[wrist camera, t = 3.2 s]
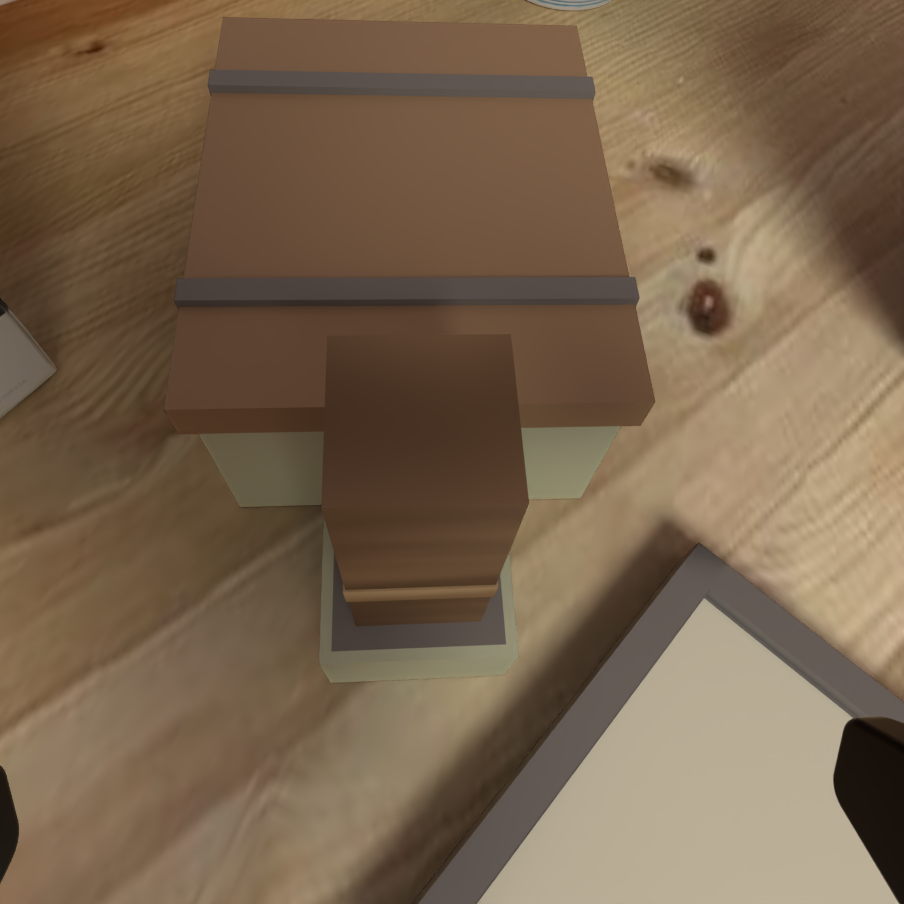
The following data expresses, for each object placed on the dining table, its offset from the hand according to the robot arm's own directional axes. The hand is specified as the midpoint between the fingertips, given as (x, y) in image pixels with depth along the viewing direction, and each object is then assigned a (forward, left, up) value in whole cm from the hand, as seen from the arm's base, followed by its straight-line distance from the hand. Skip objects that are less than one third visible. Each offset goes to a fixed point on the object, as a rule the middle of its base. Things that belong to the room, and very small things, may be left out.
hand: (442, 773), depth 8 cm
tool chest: (+9, -9, -13) cm, 18 cm away
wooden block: (+4, -4, -10) cm, 11 cm away
